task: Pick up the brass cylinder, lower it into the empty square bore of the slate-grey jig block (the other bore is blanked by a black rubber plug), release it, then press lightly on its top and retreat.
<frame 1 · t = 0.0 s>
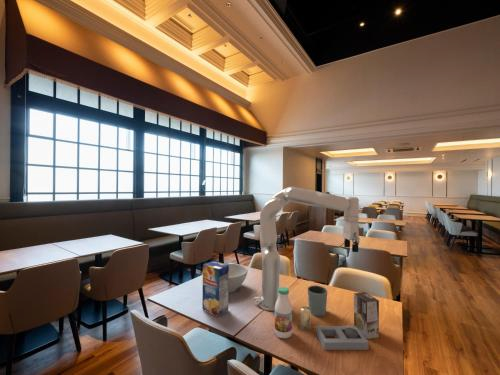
hand: (351, 249, 129), 31 cm above the table, fingers open, 9 cm apart
grey green cup: (317, 312, 121), on the table
juice carton: (215, 310, 123), on the table
coffee box: (365, 332, 105), on the table
milk bottle: (283, 334, 103), on the table
brass cylinder: (305, 328, 107), on the table
decorative bowl: (226, 289, 149), on the table
jig: (340, 340, 99), on the table
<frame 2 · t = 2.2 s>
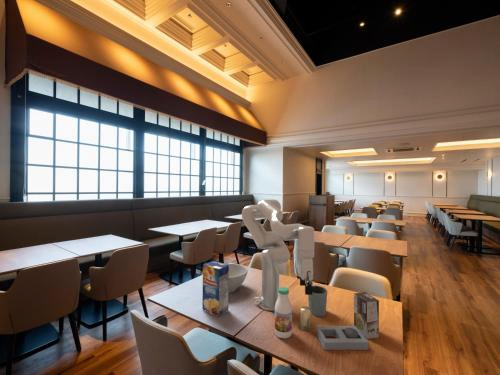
hand: (305, 289, 107), 18 cm above the table, fingers open, 9 cm apart
nothing on the table moved.
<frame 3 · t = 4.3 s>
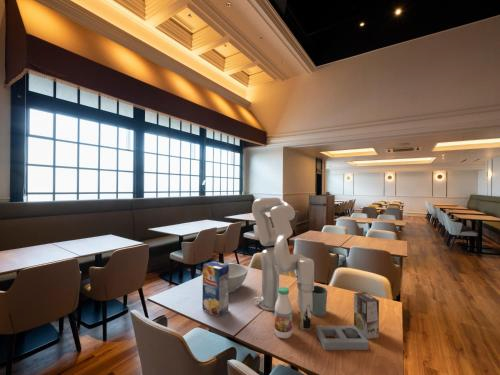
hand: (305, 324, 107), 2 cm above the table, fingers closed on brass cylinder, 4 cm apart
brass cylinder: (305, 328, 107), on the table, touching gripper
everything else where it was.
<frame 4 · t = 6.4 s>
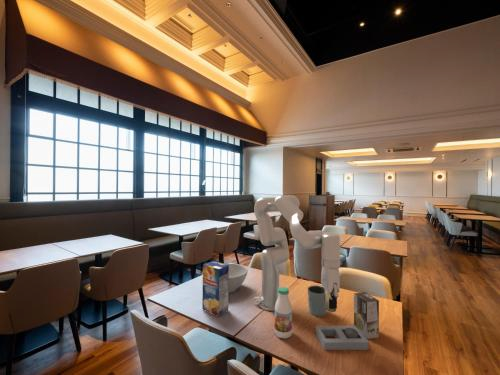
hand: (330, 305, 99), 15 cm above the table, fingers closed on brass cylinder, 4 cm apart
brass cylinder: (330, 309, 98), point 13 cm above the table, touching gripper
everything else where it was.
when the fingers open (4 cm above the table, at t = 8.4 s): brass cylinder drops 2 cm, resting in jig.
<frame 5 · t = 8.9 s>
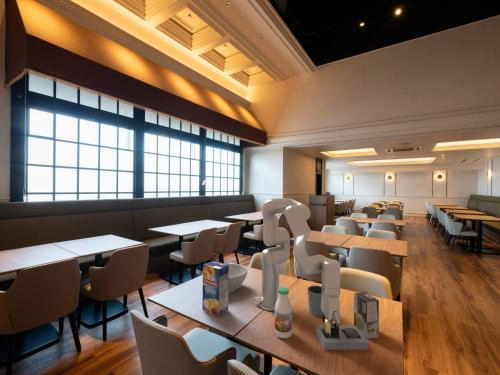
hand: (330, 329, 98), 5 cm above the table, fingers open, 9 cm apart
brass cylinder: (330, 340, 99), resting in jig
everything else where it was.
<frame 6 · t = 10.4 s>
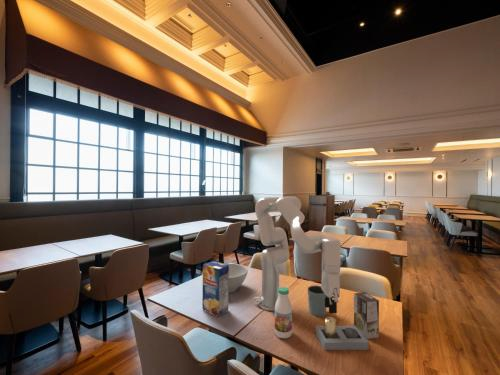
hand: (330, 309, 99), 13 cm above the table, fingers open, 4 cm apart
nothing on the table moved.
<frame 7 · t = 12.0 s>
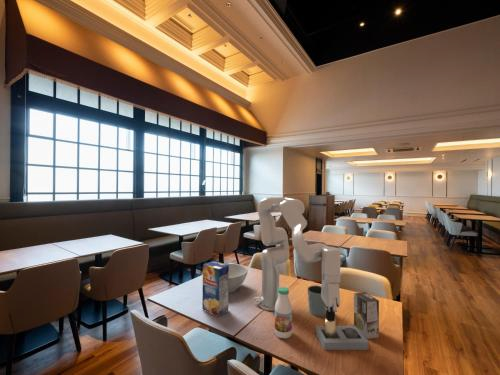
hand: (330, 319, 98), 9 cm above the table, fingers closed
nothing on the table moved.
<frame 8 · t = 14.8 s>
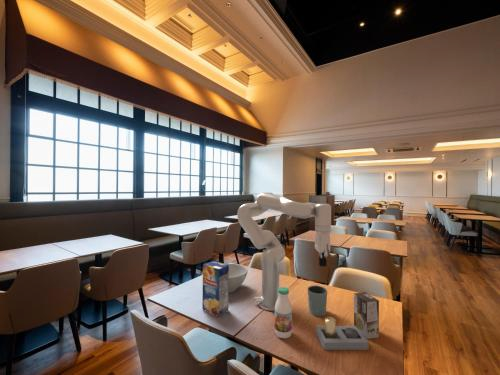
hand: (322, 265, 114), 27 cm above the table, fingers closed
nothing on the table moved.
at the end: brass cylinder 0.1 cm from the target spot on the jig, point 0.0 cm above the jig's base; brass cylinder tilted 0°; the gripper is holding nothing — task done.
